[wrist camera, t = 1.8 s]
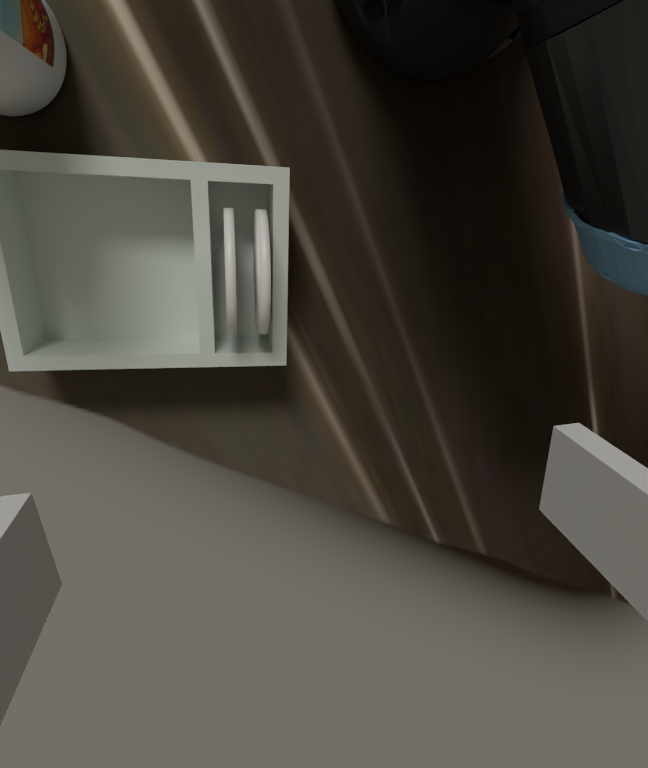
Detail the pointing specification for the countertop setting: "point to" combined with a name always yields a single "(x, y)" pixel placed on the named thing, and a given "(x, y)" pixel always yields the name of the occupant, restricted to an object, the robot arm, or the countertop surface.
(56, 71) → the milk bottle
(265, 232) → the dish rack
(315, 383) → the countertop surface
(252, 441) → the countertop surface
